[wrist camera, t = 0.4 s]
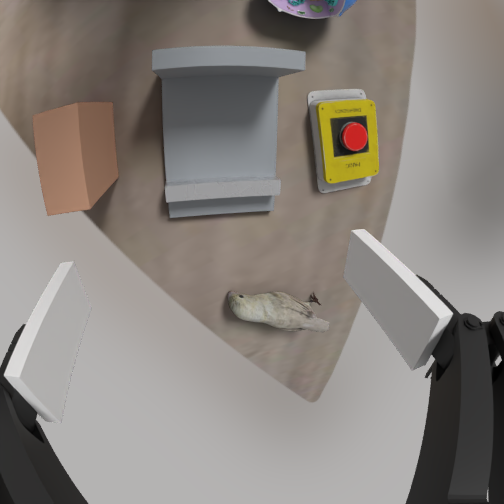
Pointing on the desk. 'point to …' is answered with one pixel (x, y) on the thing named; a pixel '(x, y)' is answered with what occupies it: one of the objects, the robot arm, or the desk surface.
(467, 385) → the robot arm
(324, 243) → the desk surface
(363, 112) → the emergency button
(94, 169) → the cabinet block
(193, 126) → the gray bracket stand
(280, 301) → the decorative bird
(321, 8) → the cell model
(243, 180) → the strip
